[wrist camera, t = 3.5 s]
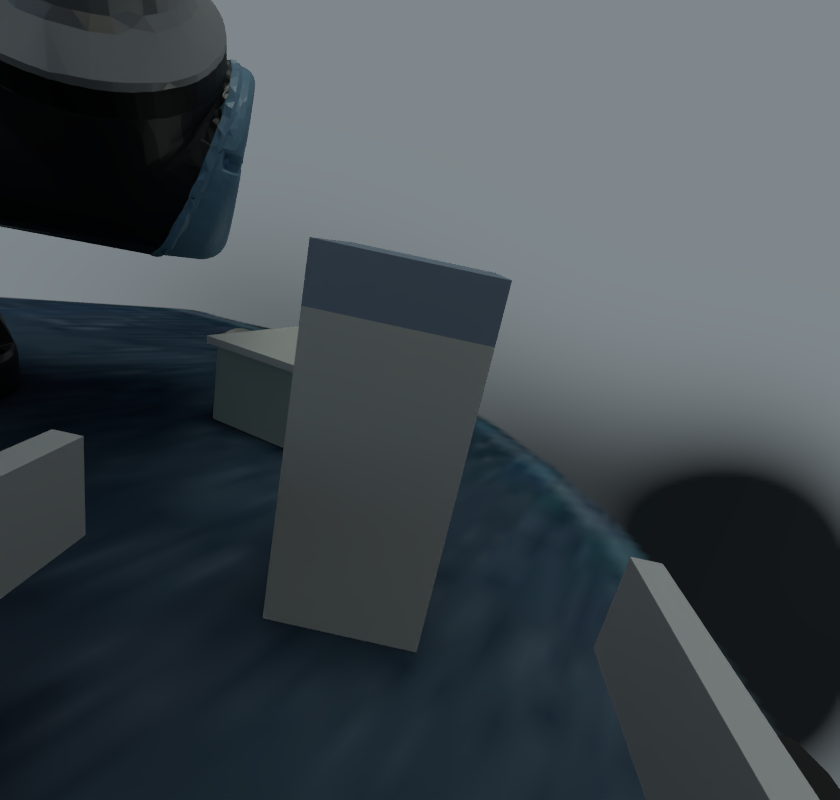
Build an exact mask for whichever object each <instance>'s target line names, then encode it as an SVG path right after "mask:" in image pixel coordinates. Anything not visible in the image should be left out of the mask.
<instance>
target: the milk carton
mask: <svg viewBox="0 0 840 800" xmlns="http://www.w3.org/2000/svg"><path fill="white" fill-rule="evenodd" d="M511 282H512V281H511V280H509V279H507V278H505V277H503V276H501V275H498V274H496V273H493V272H487V271H483V270H479V269H474V268H469V267H465V266H460V265H455V264H450V263H446V262H441V261H437V260H431V259H427V258H422V257H418V256H413V255H409V254H404V253H399V252H395V251H390V250H385V249H381V248H376V247H371V246H366V245H362V244H357V243H352V242H344V241H336V240H328V239H319V238H312V237H310V240H309V248H308V256H307V264H306V272H305V280H304V288H303V296H302V304H301V312H300V321H299V328H298V336H297V344H296V353H295V361H294V369H293V377H292V385H291V393H290V401H289V409H288V417H287V425H286V433H285V441H284V449H283V457H282V465H281V474H280V482H279V490H278V498H277V506H276V514H275V522H274V530H273V538H272V546H271V554H270V562H269V570H268V578H267V587H266V595H265V603H264V611H263V619H268V620H272V621H277V622H281V623H286V624H290V625H295V626H299V627H304V628H308V629H313V630H317V631H322V632H326V633H331V634H335V635H340V636H344V637H349V638H353V639H358V640H362V641H367V642H371V643H376V644H380V645H385V646H389V647H394V648H398V649H403V650H407V651H412V652H417V648H418V645H419V641H420V637H421V633H422V629H423V625H424V621H425V617H426V613H427V609H428V606H429V602H430V598H431V594H432V590H433V586H434V582H435V578H436V574H437V571H438V567H439V563H440V559H441V555H442V551H443V547H444V543H445V539H446V535H447V532H448V528H449V524H450V520H451V516H452V512H453V508H454V504H455V500H456V496H457V493H458V489H459V485H460V481H461V477H462V473H463V469H464V465H465V461H466V457H467V454H468V450H469V446H470V442H471V438H472V434H473V430H474V426H475V422H476V418H477V415H478V410H479V407H480V403H481V399H482V395H483V391H484V387H485V383H486V379H487V375H488V372H489V367H490V364H491V360H492V356H493V352H494V348H495V344H496V340H497V337H498V333H499V329H500V325H501V321H502V317H503V313H504V309H505V305H506V301H507V297H508V294H509V290H510V286H511Z"/></svg>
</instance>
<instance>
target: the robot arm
mask: <svg viewBox="0 0 840 800" xmlns="http://www.w3.org/2000/svg"><path fill="white" fill-rule="evenodd" d="M226 56H227V55H226V32H225V26H224V23H223V19H222V17H221V15H220V13H219V11H218V9H217V8H216V6H215V5H214V4H213V2H212V1H211V0H0V226H1V227H7V228H12V229H17V230H22V231H28V232H33V233H38V234H44V235H49V236H54V237H60V238H65V239H70V240H76V241H82V242H87V243H92V244H97V245H102V246H108V247H113V248H119V249H124V250H129V251H135V252H140V253H145V254H150V255H152V256H156V257H159V256H163V255H168V256H177V257H186V258H196V259H207V258H211V257H214V256H216V255H217V254H218V253H220V252H221V250H223V248H224V246H225V245H226V242H227V239H228V235H229V232H230V227H231V223H232V218H233V213H234V208H235V203H236V198H237V192H238V187H239V181H240V174H241V165H242V163H243V157H244V151H245V147H246V142H247V137H248V130H249V125H250V118H251V112H252V104H253V97H254V89H255V80H254V77H253V75H252V73H251V72H250V71H249V70H248V69H246V68H244V67H242V66H241V65H240V64H239V63H237V62H236V60H227V58H226ZM19 380H20V374H19V359H18V351H17V347H16V344H15V342H14V340H13V338H12V336H11V334H10V332H9V330H8V328H7V326H6V324H5V322H4V320H3V318H2V316H1V314H0V397H2V396H3V395H5V394H7V393H9V392H10V391H11V390H13V389H14V388H15V387H16V386H17V384H18V383H19ZM83 536H85V485H84V436H81V435H76V434H72V433H67V432H62V431H58V430H53V429H51V430H49V431H47V432H44V433H42V434H40V435H37V436H35V437H33V438H30V439H28V440H26V441H23V442H21V443H19V444H16V445H14V446H12V447H10V448H7V449H5V450H3V451H0V599H1V598H2V597H4V596H5V595H6V594H8V593H9V592H10V591H12V590H13V589H14V588H16V587H17V586H18V585H20V584H21V583H22V582H24V581H25V580H26V579H28V578H29V577H30V576H32V575H33V574H34V573H36V572H37V571H38V570H40V569H41V568H42V567H43V566H45V565H46V564H47V563H49V562H50V561H51V560H53V559H54V558H55V557H57V556H58V555H59V554H61V553H62V552H63V551H65V550H66V549H67V548H69V547H70V546H71V545H73V544H74V543H75V542H77V541H78V540H79V539H81V538H82V537H83ZM594 651H595V654H596V657H597V660H598V663H599V666H600V669H601V672H602V674H603V677H604V680H605V683H606V686H607V689H608V692H609V695H610V698H611V700H612V703H613V706H614V709H615V712H616V715H617V718H618V721H619V724H620V726H621V729H622V732H623V735H624V738H625V741H626V744H627V747H628V750H629V752H630V755H631V758H632V761H633V764H634V767H635V770H636V773H637V776H638V778H639V781H640V784H641V787H642V790H643V793H644V796H645V799H646V800H840V789H839V788H838V786H837V785H836V783H835V782H834V781H833V779H832V778H831V776H830V775H829V774H828V773H827V772H826V771H825V770H824V769H823V768H822V767H821V766H820V765H819V764H818V763H817V762H816V761H815V760H814V759H813V758H812V757H811V756H810V755H809V754H808V753H807V752H806V751H805V750H804V749H803V748H802V747H801V746H800V745H799V744H798V743H797V742H796V741H795V740H794V739H793V738H788V737H784V736H780V735H776V733H775V732H774V730H773V729H772V727H771V726H770V724H769V723H768V721H767V720H766V718H765V717H764V715H763V714H762V712H761V711H760V709H759V708H758V706H757V705H756V703H755V702H754V700H753V699H752V697H751V696H750V694H749V693H748V691H747V690H746V688H745V687H744V685H743V684H742V682H741V681H740V679H739V678H738V676H737V675H736V673H735V672H734V670H733V669H732V667H731V666H730V664H729V663H728V661H727V660H726V658H725V657H724V655H723V654H722V652H721V651H720V649H719V648H718V646H717V645H716V643H715V642H714V640H713V639H712V637H711V636H710V634H709V633H708V631H707V630H706V628H705V627H704V625H703V624H702V622H701V621H700V619H699V618H698V616H697V615H696V613H695V612H694V610H693V609H692V607H691V606H690V604H689V603H688V601H687V600H686V598H685V597H684V595H683V594H682V592H681V591H680V589H679V588H678V587H677V585H676V583H675V582H674V580H673V579H672V577H671V576H670V574H669V573H668V571H667V570H666V568H665V567H664V565H663V564H660V563H656V562H652V561H647V560H643V559H638V558H634V557H630V559H629V561H628V564H627V566H626V569H625V571H624V574H623V576H622V579H621V581H620V584H619V586H618V589H617V591H616V594H615V596H614V599H613V601H612V604H611V606H610V609H609V611H608V613H607V616H606V618H605V621H604V623H603V626H602V628H601V631H600V633H599V636H598V638H597V641H596V643H595V646H594Z"/></svg>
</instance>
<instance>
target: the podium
mask: <svg viewBox="0 0 840 800" xmlns="http://www.w3.org/2000/svg"><path fill="white" fill-rule="evenodd" d="M298 328H299V326H297V327H287V328H277V329H267V330H257V331H247V332H237V333H227V334H217V335H207V343H209V344H212V345H215V346H217V347H218V352H217V366H216V380H215V394H214V408H213V419H215V420H218V421H220V422H222V423H225V424H227V425H230V426H232V427H234V428H237V429H239V430H241V431H244V432H246V433H249V434H251V435H253V436H256V437H258V438H261V439H263V440H265V441H268V442H270V443H272V444H275V445H277V446H280V447H282V448H284V441H285V433H286V425H287V417H288V409H289V401H290V393H291V385H292V377H293V369H294V361H295V353H296V344H297V336H298Z"/></svg>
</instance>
